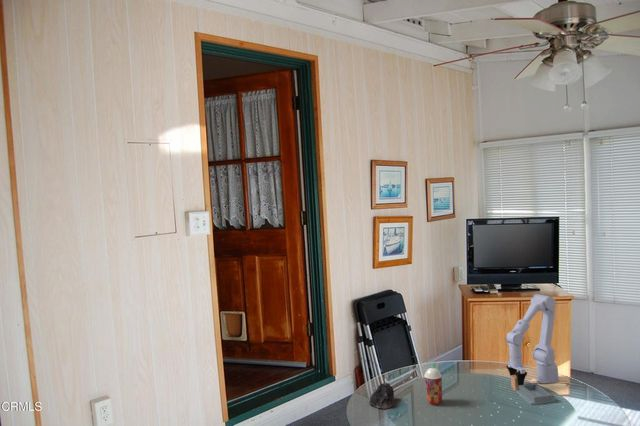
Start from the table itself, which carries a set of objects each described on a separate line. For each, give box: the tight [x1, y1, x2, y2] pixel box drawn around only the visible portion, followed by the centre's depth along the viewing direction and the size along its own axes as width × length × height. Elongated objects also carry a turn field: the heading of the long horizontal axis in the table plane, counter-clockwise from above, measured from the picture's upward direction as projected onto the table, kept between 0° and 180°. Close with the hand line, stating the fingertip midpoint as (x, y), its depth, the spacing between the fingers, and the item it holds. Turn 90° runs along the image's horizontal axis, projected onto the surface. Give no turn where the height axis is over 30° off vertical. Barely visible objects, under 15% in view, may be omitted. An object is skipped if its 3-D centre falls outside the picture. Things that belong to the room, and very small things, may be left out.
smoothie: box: [423, 362, 443, 406], centre depth 251 cm, size 8×8×20 cm
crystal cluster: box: [368, 382, 395, 410], centre depth 256 cm, size 13×14×10 cm
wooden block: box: [510, 375, 525, 391], centre depth 259 cm, size 4×4×6 cm
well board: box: [515, 382, 557, 406], centre depth 248 cm, size 12×15×3 cm
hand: (517, 382), depth 259 cm, fingers open, 7 cm apart
